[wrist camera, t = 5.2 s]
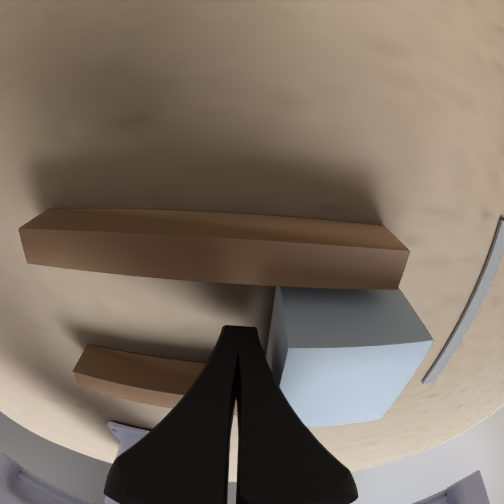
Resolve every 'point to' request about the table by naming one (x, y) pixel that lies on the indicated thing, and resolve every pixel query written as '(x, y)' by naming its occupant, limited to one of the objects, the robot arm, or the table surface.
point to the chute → (203, 270)
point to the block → (343, 351)
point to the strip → (471, 305)
